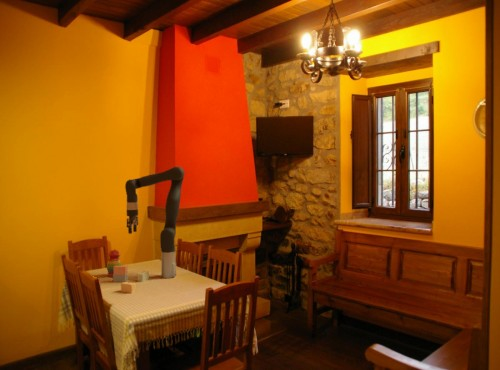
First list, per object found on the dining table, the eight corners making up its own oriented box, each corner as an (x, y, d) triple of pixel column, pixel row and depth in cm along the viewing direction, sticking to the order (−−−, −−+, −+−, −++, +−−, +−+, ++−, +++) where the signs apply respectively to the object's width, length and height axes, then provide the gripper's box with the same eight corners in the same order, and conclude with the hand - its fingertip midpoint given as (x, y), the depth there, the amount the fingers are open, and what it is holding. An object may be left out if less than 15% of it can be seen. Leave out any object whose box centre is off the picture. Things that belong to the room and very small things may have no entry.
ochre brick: (135, 291, 241) (135, 283, 241) (131, 293, 238) (131, 284, 238) (125, 290, 244) (125, 281, 244) (121, 291, 241) (120, 283, 241)
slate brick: (127, 280, 265) (127, 273, 264) (125, 282, 261) (125, 274, 261) (115, 280, 265) (115, 272, 265) (113, 282, 262) (113, 274, 262)
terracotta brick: (127, 273, 264) (127, 265, 264) (125, 274, 261) (125, 267, 261) (115, 273, 265) (115, 265, 265) (113, 274, 261) (113, 266, 261)
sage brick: (144, 278, 270) (143, 271, 270) (148, 278, 269) (148, 271, 269) (137, 281, 262) (137, 274, 262) (142, 282, 262) (142, 274, 261)
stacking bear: (119, 277, 272) (118, 251, 272) (104, 277, 273) (104, 251, 272) (124, 273, 283) (124, 248, 283) (110, 273, 284) (109, 248, 283)
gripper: (133, 209, 266) (134, 234, 266) (141, 207, 280) (141, 231, 280) (122, 209, 266) (123, 234, 267) (131, 207, 280) (131, 231, 281)
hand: (132, 232), depth 274 cm, fingers open, 8 cm apart
